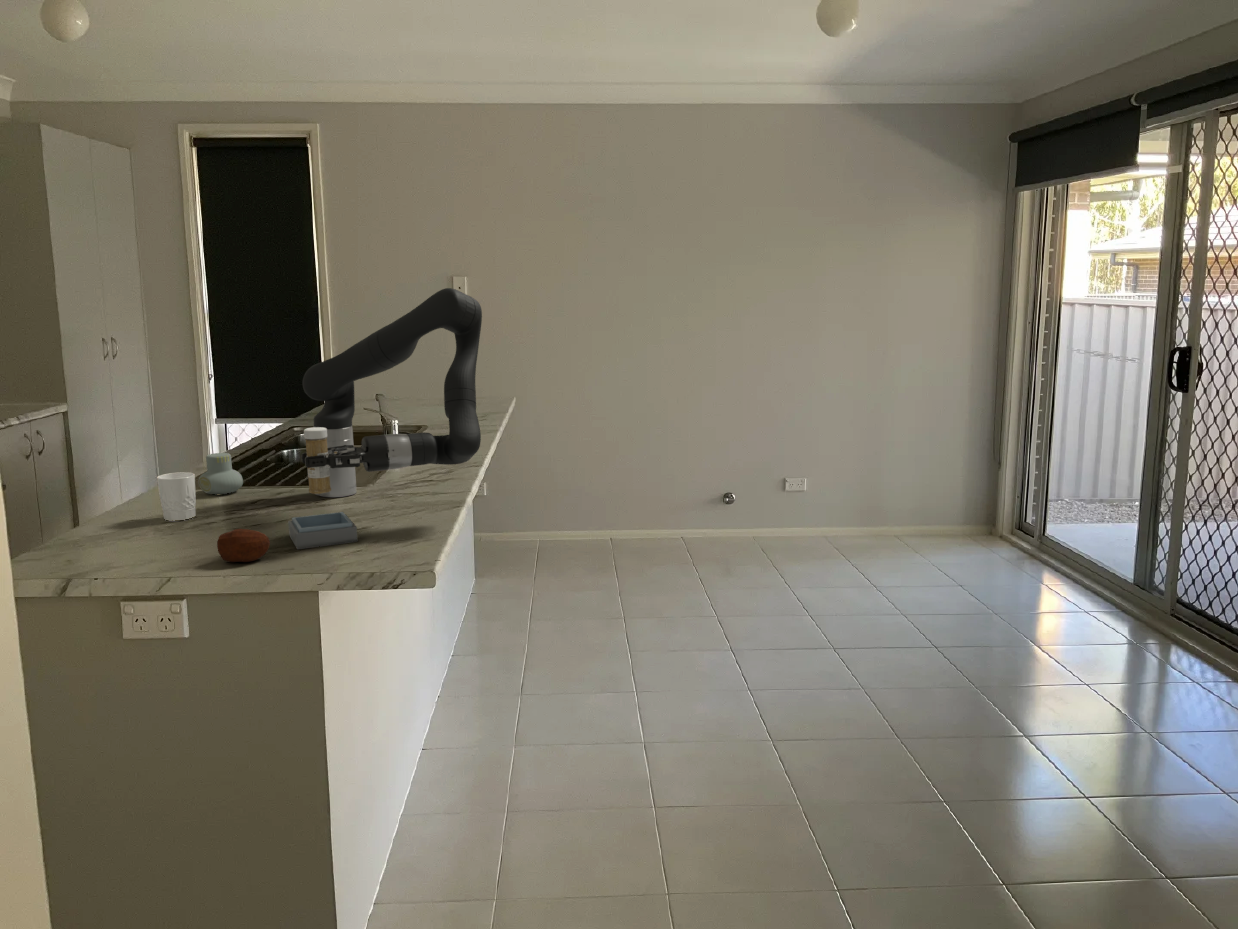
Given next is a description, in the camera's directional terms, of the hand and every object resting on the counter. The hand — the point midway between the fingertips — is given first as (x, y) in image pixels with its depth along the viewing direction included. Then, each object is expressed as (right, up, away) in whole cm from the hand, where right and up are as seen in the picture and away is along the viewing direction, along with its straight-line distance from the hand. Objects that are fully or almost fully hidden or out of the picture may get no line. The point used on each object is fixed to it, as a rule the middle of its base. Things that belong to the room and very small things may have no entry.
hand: (304, 460), depth 198 cm
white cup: (-36, -13, +24) cm, 45 cm away
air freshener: (-37, -8, +50) cm, 63 cm away
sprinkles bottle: (+3, -7, +3) cm, 8 cm away
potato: (-8, -20, -11) cm, 24 cm away
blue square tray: (+3, -16, +4) cm, 17 cm away
